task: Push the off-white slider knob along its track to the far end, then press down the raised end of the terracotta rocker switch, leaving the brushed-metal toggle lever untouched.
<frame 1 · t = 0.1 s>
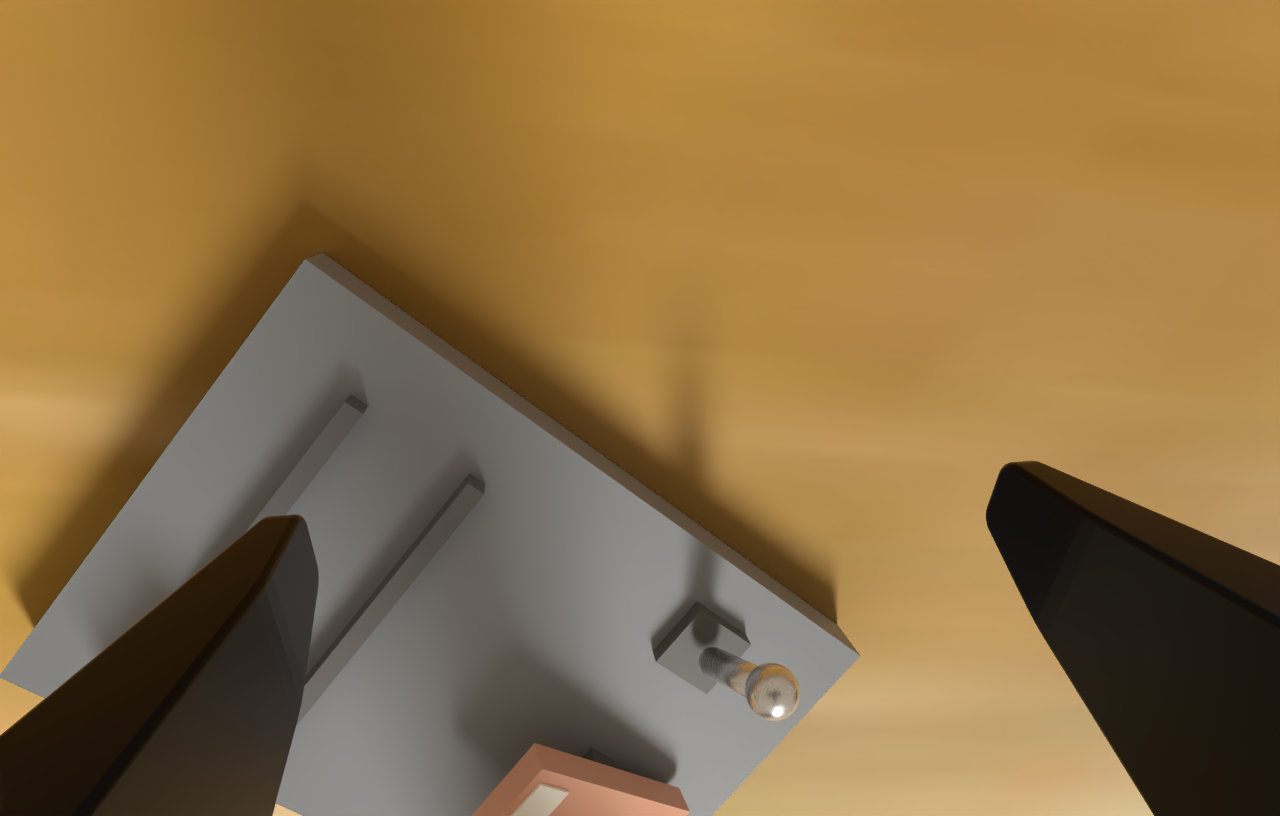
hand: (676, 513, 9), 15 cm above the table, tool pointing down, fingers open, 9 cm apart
toggle: (757, 684, 22), point 6 cm above the table, hinge at 25.0°
switch panel: (476, 631, 27), on the table
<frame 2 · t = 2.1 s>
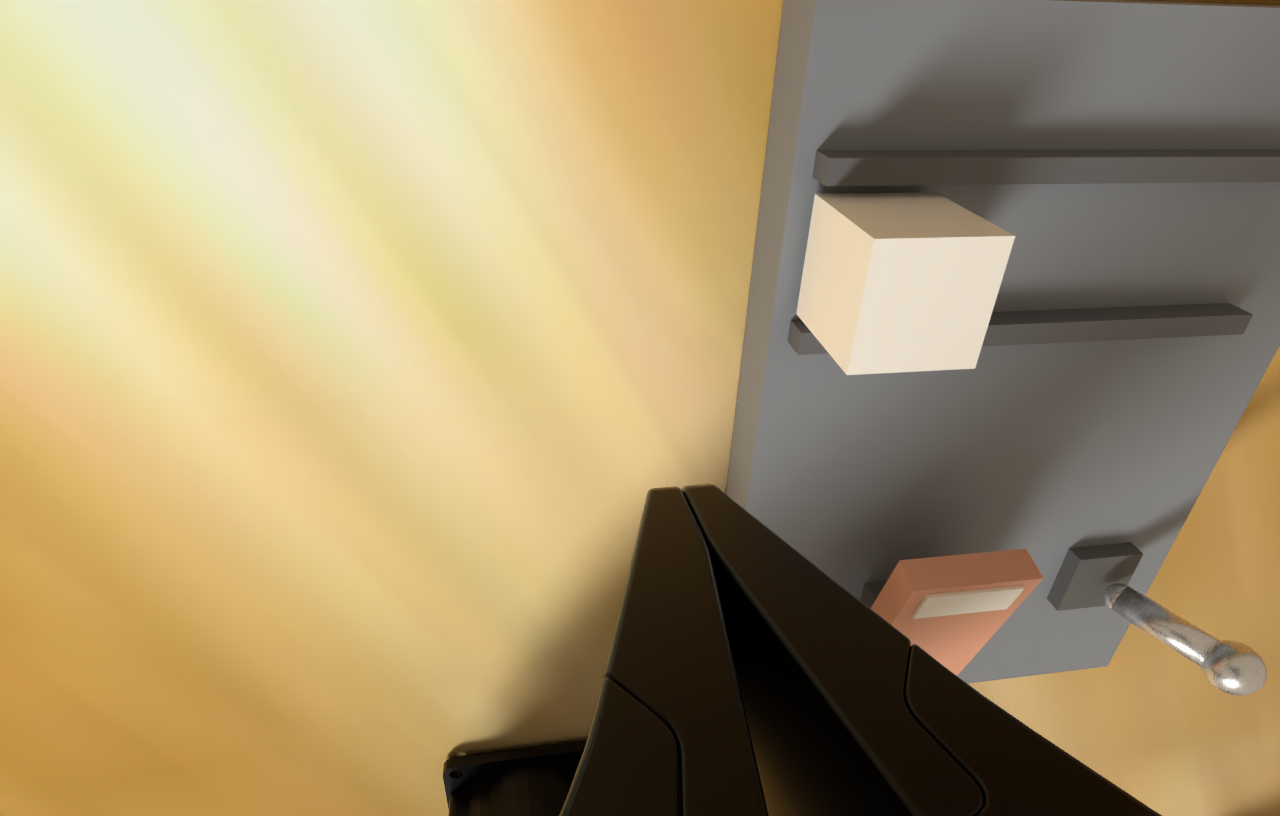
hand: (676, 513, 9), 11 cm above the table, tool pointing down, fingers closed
toggle: (1206, 651, 23), point 6 cm above the table, hinge at 25.0°
rocker: (928, 629, 24), point 4 cm above the table, hinge at 15.0°
slider: (893, 279, 17), point 4 cm above the table, slide at 0.0 cm
switch panel: (973, 404, 24), on the table
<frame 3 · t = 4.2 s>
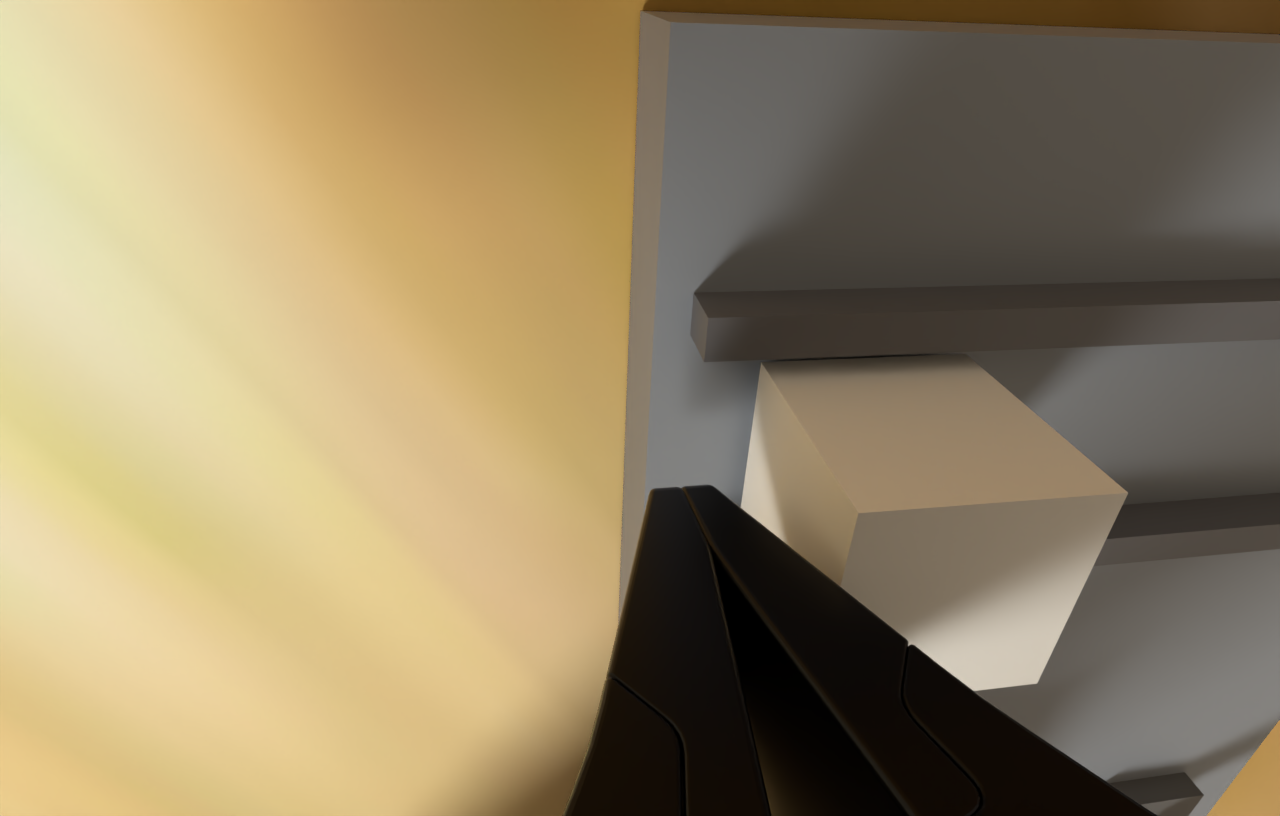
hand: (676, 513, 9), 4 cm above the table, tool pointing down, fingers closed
slider: (894, 517, 10), point 4 cm above the table, slide at 0.9 cm, touching gripper
switch panel: (967, 597, 17), on the table
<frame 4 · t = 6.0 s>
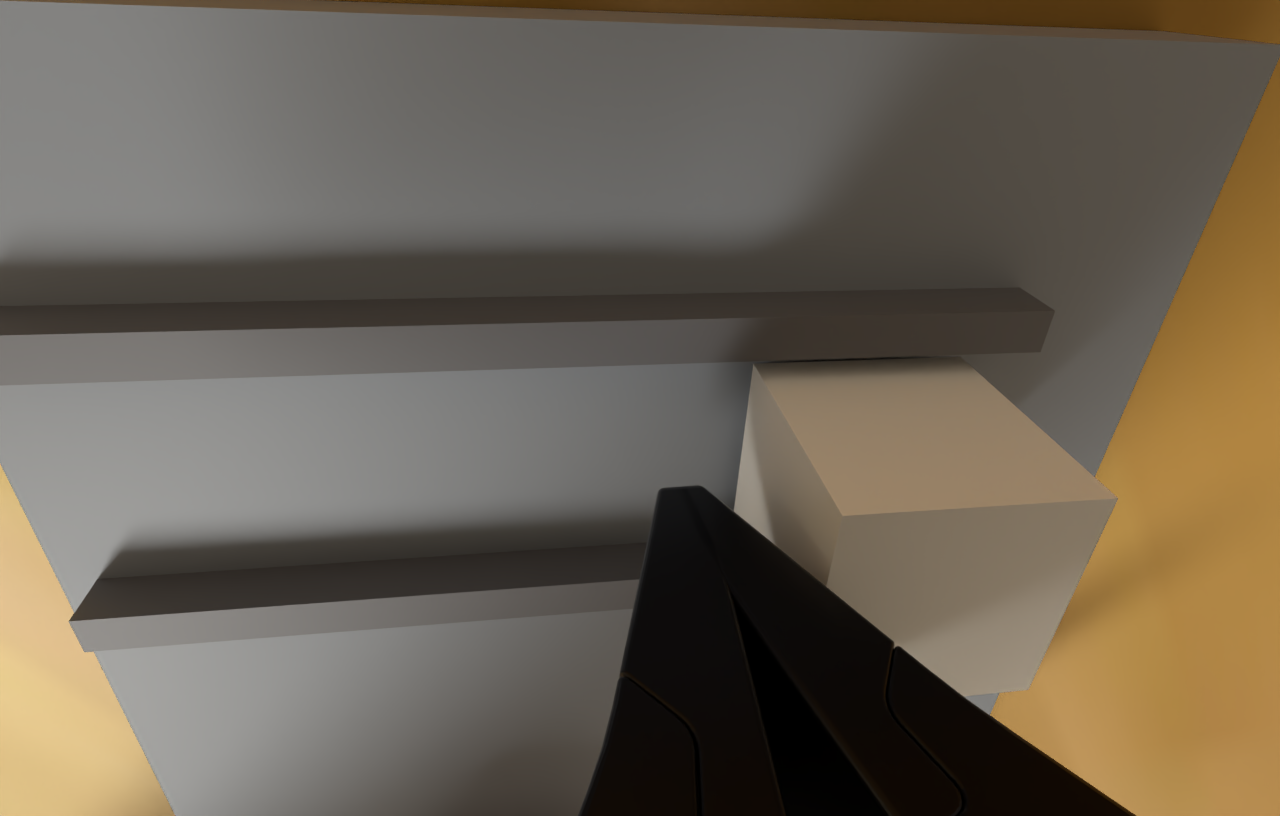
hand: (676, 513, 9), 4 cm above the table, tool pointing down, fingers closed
slider: (885, 520, 10), point 4 cm above the table, slide at 9.2 cm, touching gripper
switch panel: (602, 632, 15), on the table
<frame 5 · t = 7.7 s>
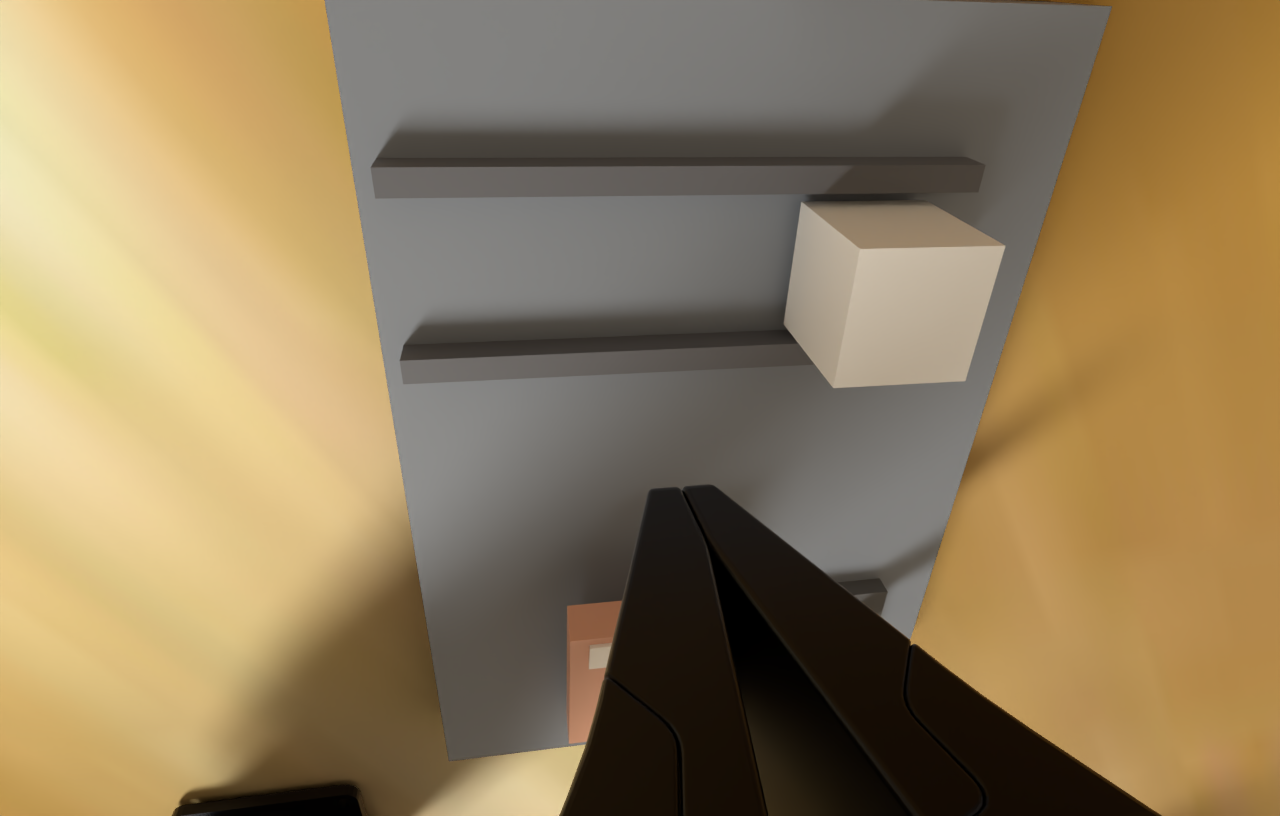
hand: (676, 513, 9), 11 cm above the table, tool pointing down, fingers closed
rocker: (636, 675, 22), point 4 cm above the table, hinge at 15.0°
slider: (881, 289, 16), point 4 cm above the table, slide at 9.1 cm
switch panel: (688, 431, 22), on the table
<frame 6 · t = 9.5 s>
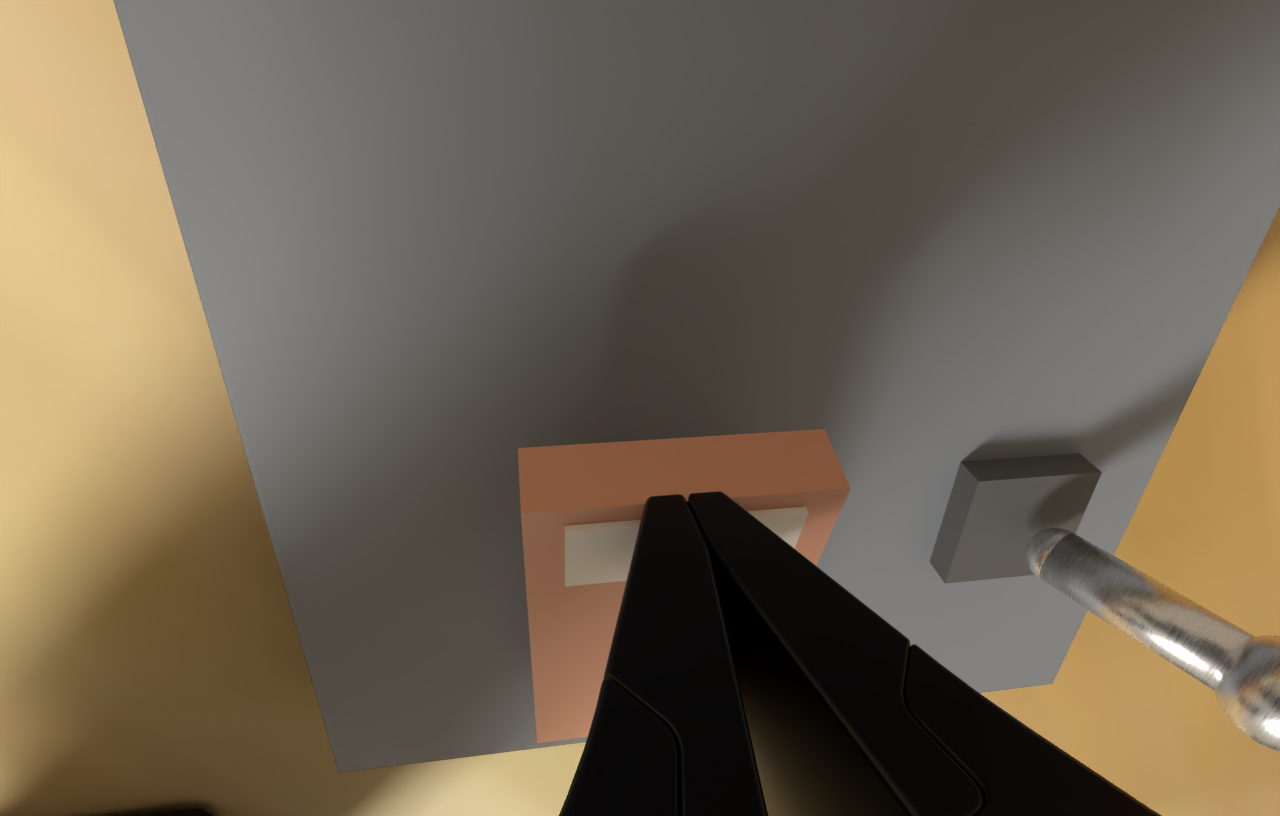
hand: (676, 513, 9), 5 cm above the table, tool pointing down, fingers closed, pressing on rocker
toggle: (1225, 658, 11), point 6 cm above the table, hinge at 25.0°
rocker: (658, 613, 12), point 4 cm above the table, hinge at 14.9°, touching gripper
switch panel: (754, 163, 12), on the table
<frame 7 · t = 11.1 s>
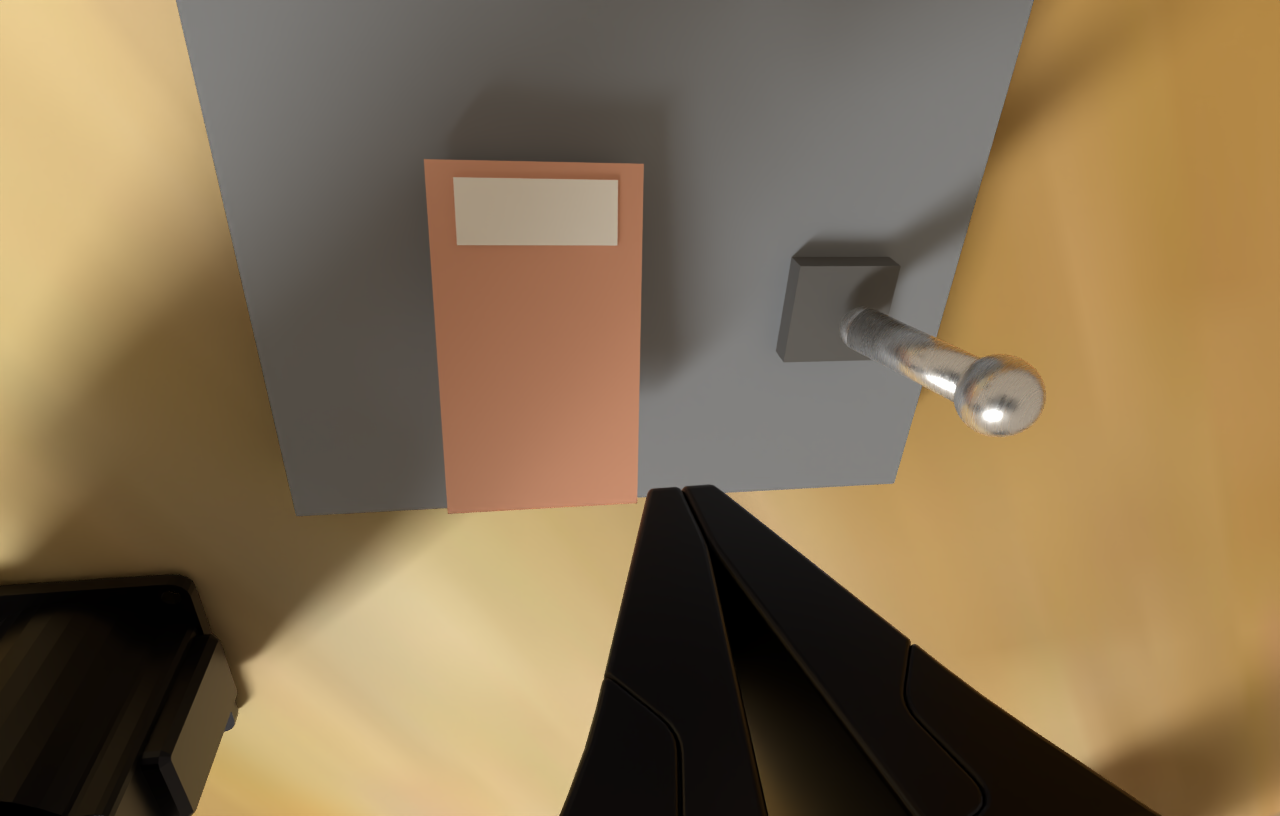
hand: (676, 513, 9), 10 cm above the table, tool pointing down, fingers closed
toggle: (964, 379, 15), point 6 cm above the table, hinge at 25.0°
rocker: (539, 342, 15), point 4 cm above the table, hinge at -13.1°
switch panel: (624, 4, 15), on the table
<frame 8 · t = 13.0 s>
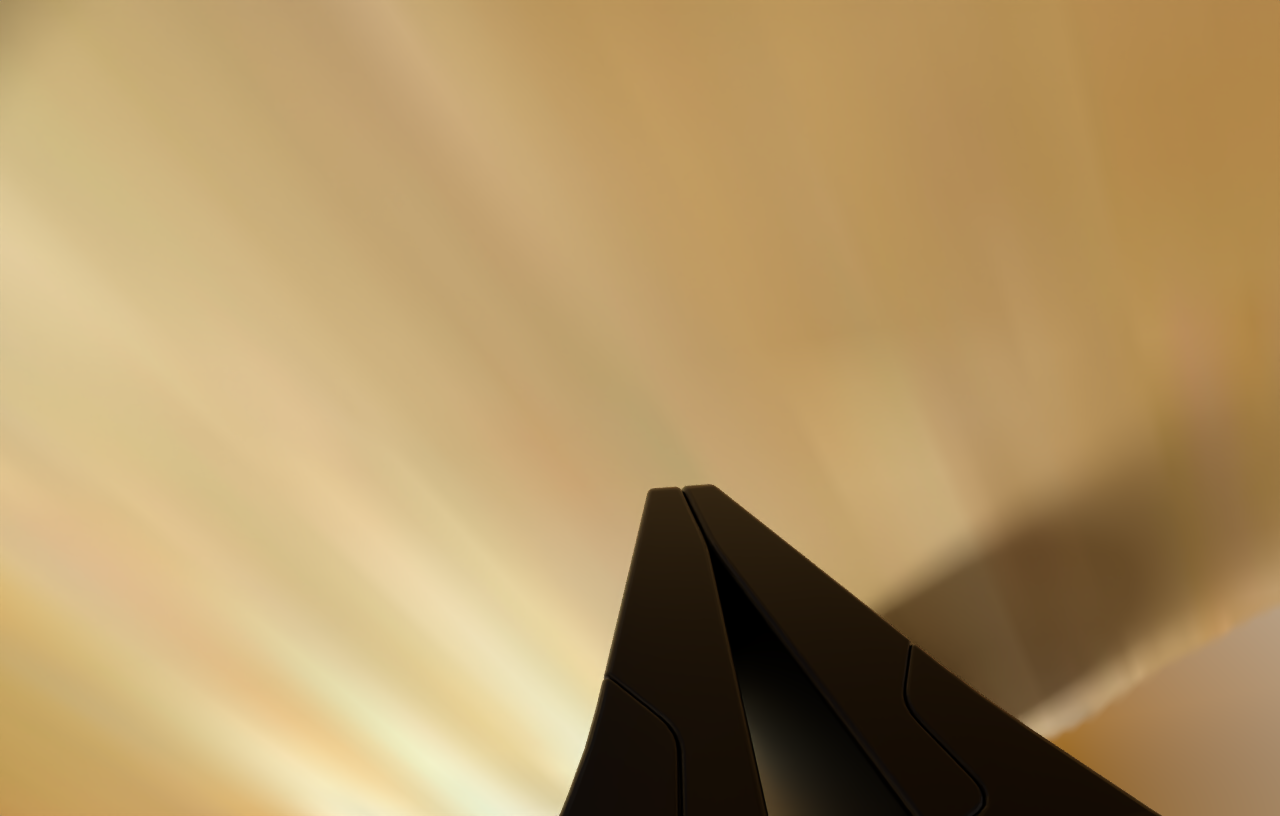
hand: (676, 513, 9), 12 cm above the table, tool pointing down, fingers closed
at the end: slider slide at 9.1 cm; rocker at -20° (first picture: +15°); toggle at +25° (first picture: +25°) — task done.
